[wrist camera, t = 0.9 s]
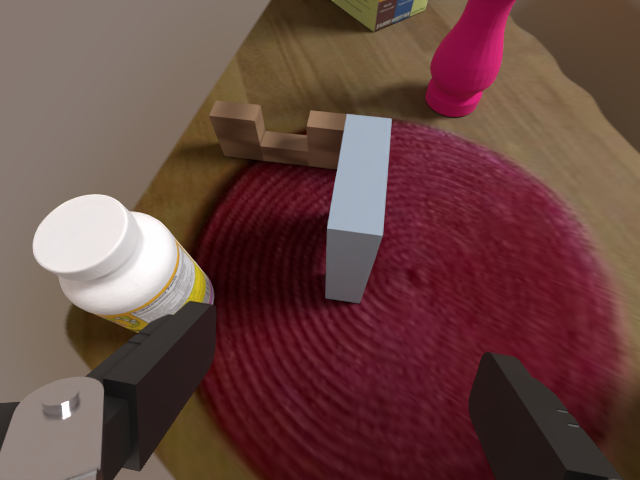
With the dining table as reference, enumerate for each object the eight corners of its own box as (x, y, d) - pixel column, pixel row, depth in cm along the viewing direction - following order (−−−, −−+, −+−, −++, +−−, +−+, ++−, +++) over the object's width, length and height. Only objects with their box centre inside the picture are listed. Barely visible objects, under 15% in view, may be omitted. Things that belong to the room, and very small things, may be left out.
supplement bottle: (123, 302, 28) (-10, 226, 17) (189, 255, 30) (109, 159, 19) (163, 362, 26) (39, 320, 14) (231, 305, 28) (170, 231, 17)
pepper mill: (463, 129, 38) (586, -121, 20) (409, 102, 40) (479, -144, 22) (490, 97, 40) (622, -150, 23) (439, 73, 42) (522, -168, 25)
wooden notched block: (379, 158, 36) (388, 118, 31) (377, 174, 35) (387, 135, 30) (230, 141, 37) (216, 100, 32) (224, 156, 36) (209, 115, 31)
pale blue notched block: (338, 212, 32) (346, 114, 22) (368, 216, 32) (391, 118, 22) (325, 298, 28) (327, 228, 18) (359, 303, 28) (382, 235, 17)
